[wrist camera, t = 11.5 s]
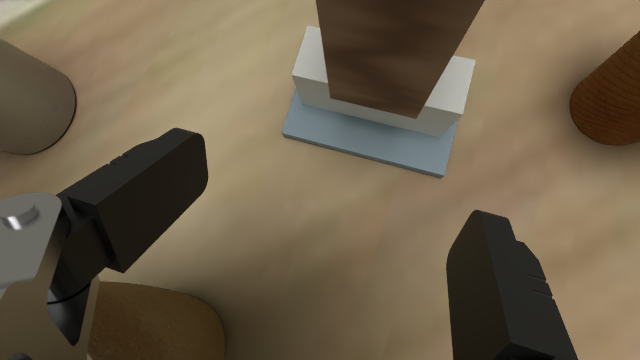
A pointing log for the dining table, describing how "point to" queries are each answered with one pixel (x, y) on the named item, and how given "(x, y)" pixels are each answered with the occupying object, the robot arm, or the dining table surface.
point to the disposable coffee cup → (611, 98)
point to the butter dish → (376, 116)
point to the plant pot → (153, 325)
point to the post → (390, 49)
